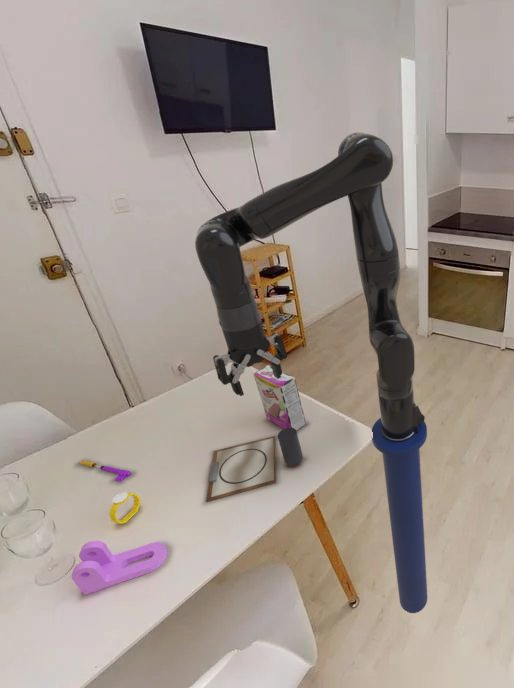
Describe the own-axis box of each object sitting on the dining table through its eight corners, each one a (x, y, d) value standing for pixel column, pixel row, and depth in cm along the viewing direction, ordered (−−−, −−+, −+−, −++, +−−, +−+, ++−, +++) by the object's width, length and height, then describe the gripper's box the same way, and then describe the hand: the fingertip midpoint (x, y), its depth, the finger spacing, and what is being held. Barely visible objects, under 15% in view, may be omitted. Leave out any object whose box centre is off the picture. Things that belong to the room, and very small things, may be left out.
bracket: (84, 595, 75) (67, 573, 72) (93, 567, 79) (77, 545, 76) (164, 567, 79) (151, 545, 76) (169, 542, 84) (156, 520, 80)
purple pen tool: (133, 473, 100) (84, 461, 104) (130, 470, 99) (81, 458, 103) (124, 483, 98) (75, 470, 102) (121, 481, 97) (72, 468, 101)
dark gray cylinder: (303, 453, 104) (296, 425, 99) (304, 466, 100) (297, 437, 96) (285, 458, 103) (277, 430, 98) (285, 471, 99) (277, 442, 94)
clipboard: (275, 437, 109) (274, 433, 109) (276, 482, 96) (275, 479, 96) (214, 452, 105) (212, 448, 104) (206, 502, 92) (205, 498, 91)
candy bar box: (266, 420, 115) (252, 373, 107) (280, 410, 119) (267, 364, 111) (293, 435, 110) (280, 386, 102) (307, 424, 113) (295, 376, 105)
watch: (124, 529, 86) (112, 511, 83) (113, 527, 87) (101, 509, 84) (146, 505, 92) (136, 487, 89) (136, 503, 92) (125, 485, 89)
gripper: (211, 341, 76) (234, 408, 84) (282, 314, 84) (297, 378, 92) (197, 327, 80) (220, 392, 88) (266, 304, 89) (281, 365, 97)
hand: (259, 385), depth 90 cm, fingers open, 8 cm apart
